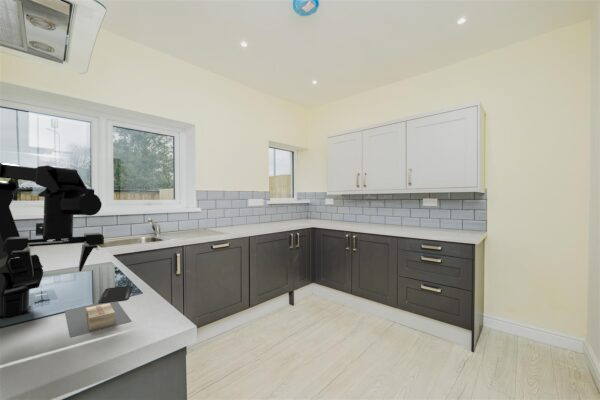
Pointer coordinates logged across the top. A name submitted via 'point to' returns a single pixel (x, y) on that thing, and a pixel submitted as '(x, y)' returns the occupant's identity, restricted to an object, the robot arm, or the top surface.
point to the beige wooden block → (100, 316)
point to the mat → (79, 324)
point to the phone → (115, 294)
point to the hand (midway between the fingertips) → (57, 274)
